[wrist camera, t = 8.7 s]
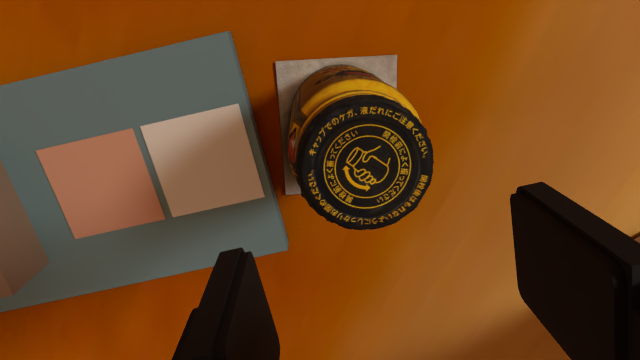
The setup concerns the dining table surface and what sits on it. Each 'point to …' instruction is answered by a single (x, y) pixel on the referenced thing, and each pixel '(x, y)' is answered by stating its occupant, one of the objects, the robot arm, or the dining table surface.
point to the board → (130, 173)
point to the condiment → (352, 140)
